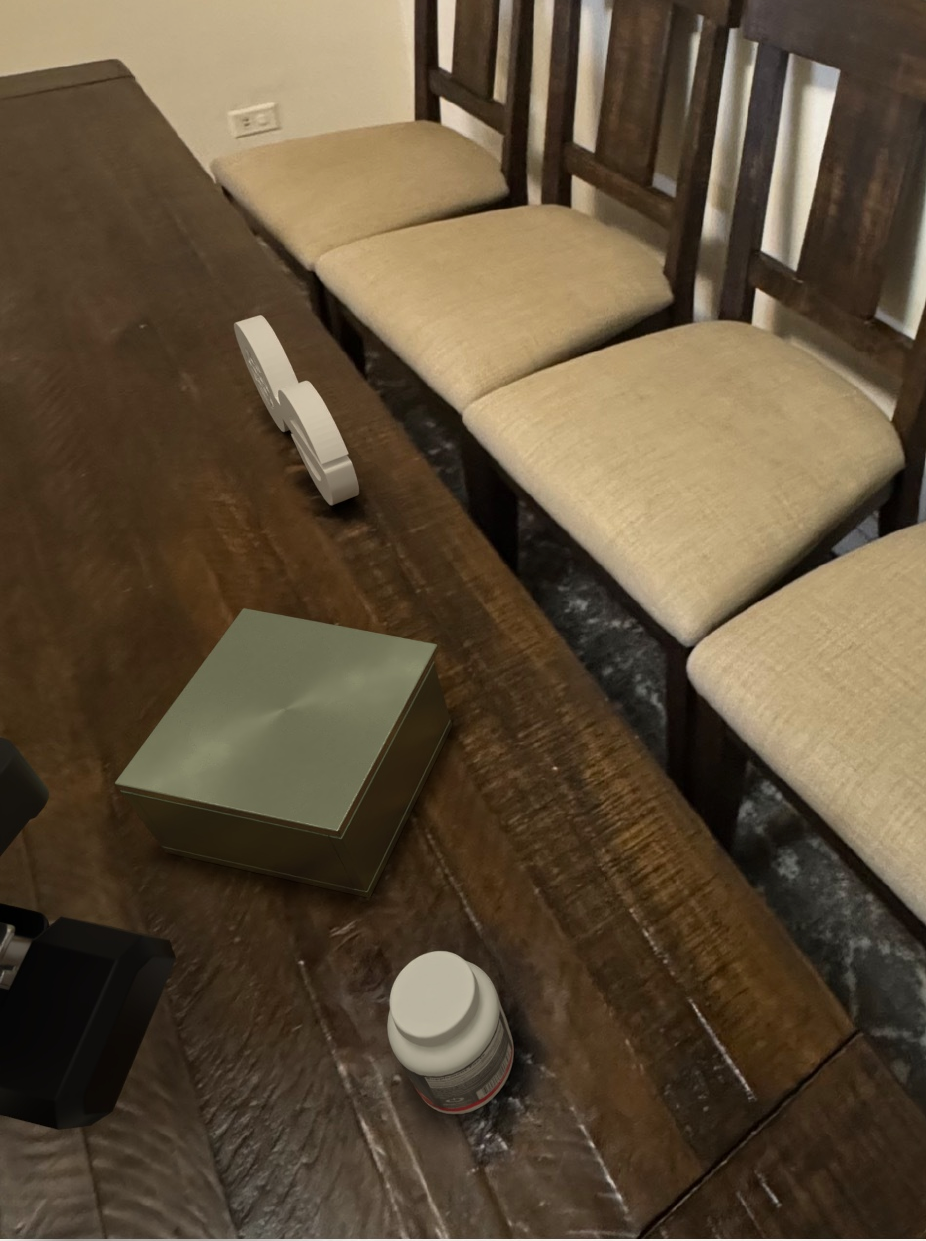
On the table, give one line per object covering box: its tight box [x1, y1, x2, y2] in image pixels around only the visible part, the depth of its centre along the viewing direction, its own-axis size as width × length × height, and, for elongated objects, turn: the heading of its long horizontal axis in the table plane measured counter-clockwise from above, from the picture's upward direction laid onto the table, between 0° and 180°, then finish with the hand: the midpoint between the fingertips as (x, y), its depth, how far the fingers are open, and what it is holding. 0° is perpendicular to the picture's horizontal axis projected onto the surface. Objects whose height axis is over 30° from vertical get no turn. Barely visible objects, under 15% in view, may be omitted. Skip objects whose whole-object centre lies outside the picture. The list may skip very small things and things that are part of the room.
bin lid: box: [114, 607, 440, 837], centre depth 61 cm, size 13×14×1 cm
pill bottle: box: [386, 950, 515, 1115], centre depth 51 cm, size 5×5×10 cm
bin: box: [119, 661, 453, 899], centre depth 63 cm, size 13×14×7 cm
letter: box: [233, 314, 360, 506], centre depth 86 cm, size 22×2×10 cm, turn 36°
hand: (44, 986), depth 44 cm, fingers closed
